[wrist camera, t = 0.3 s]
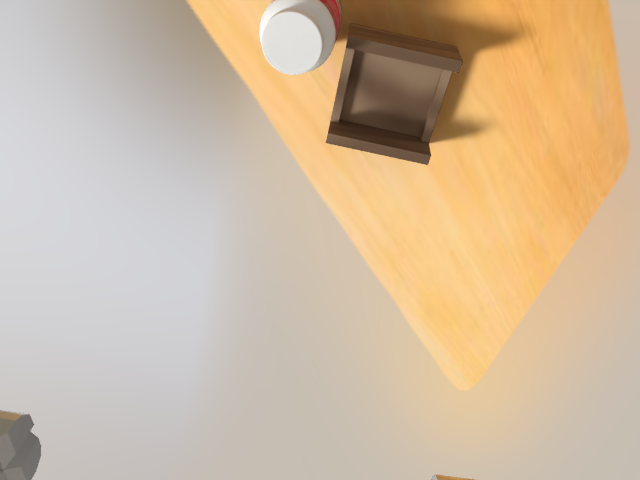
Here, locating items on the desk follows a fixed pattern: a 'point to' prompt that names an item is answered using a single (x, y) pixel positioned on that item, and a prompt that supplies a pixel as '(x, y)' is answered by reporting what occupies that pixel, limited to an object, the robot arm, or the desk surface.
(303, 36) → the pill bottle
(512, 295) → the desk surface
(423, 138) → the cradle
